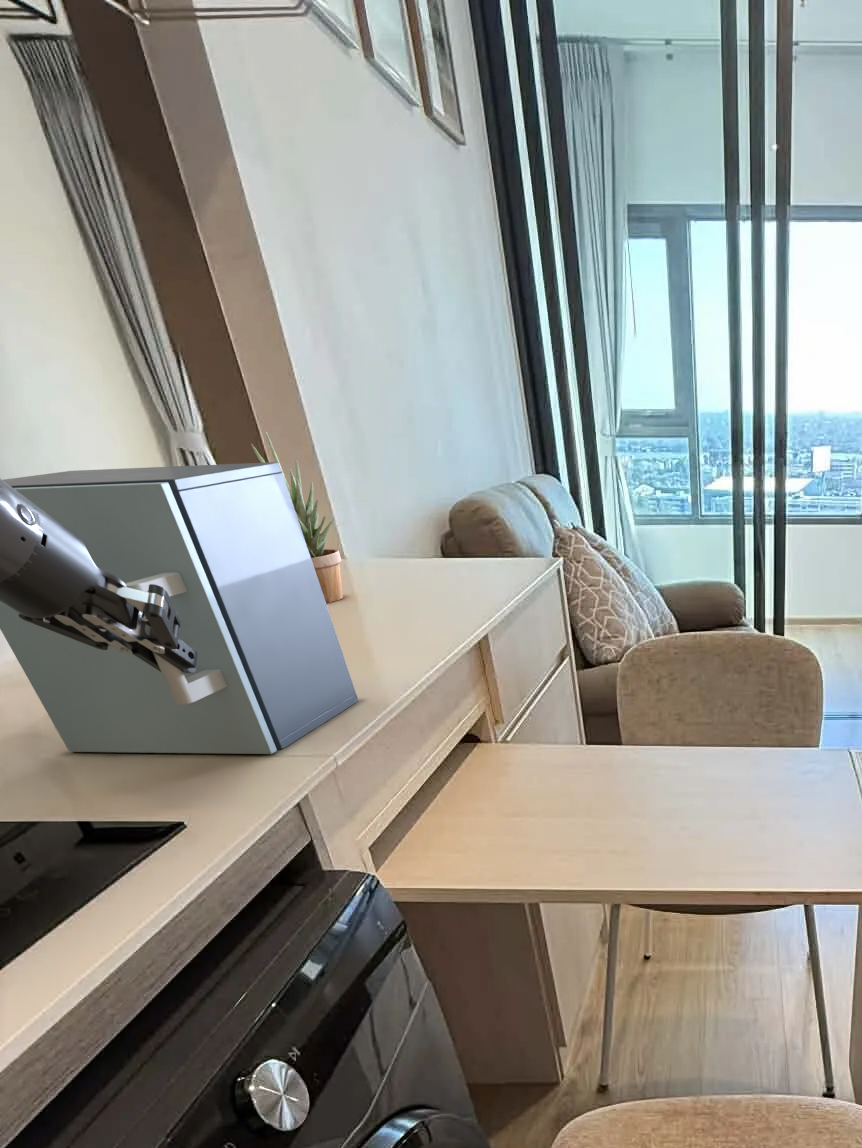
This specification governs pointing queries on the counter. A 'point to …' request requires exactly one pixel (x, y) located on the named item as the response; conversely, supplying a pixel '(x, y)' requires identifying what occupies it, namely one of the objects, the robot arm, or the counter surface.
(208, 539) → the cupboard
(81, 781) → the counter surface
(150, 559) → the door
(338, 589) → the potted plant
